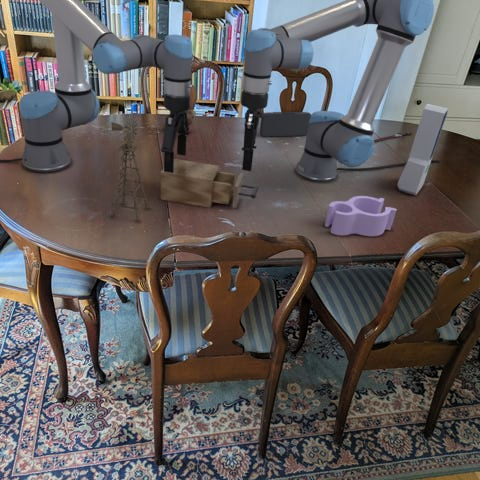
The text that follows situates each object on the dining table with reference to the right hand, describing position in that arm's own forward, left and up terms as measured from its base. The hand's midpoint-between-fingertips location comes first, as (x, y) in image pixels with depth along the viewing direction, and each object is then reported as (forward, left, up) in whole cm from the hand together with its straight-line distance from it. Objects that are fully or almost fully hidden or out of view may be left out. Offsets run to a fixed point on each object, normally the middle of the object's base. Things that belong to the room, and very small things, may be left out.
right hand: (246, 169), depth 142 cm
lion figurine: (-6, -66, -12) cm, 67 cm away
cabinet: (+13, -11, -12) cm, 21 cm away
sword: (-96, -31, -12) cm, 102 cm away
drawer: (+5, -4, -11) cm, 13 cm away
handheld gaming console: (-49, -49, -12) cm, 70 cm away
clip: (-26, +24, -12) cm, 38 cm away
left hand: (+17, -14, -2) cm, 23 cm away
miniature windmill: (+34, -7, -12) cm, 37 cm away
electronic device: (-65, +10, -12) cm, 67 cm away
